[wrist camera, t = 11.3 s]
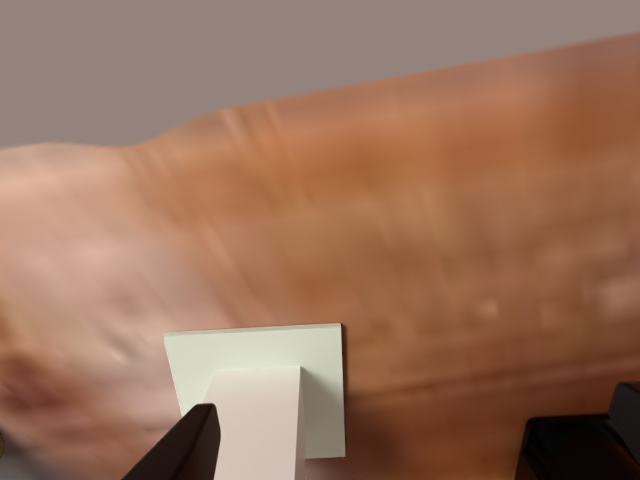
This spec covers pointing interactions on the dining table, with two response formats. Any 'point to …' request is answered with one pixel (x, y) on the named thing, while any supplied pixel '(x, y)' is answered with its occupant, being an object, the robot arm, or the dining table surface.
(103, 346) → the dining table surface
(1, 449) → the olive green tapered block
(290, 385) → the plug
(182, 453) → the robot arm
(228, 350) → the mat
